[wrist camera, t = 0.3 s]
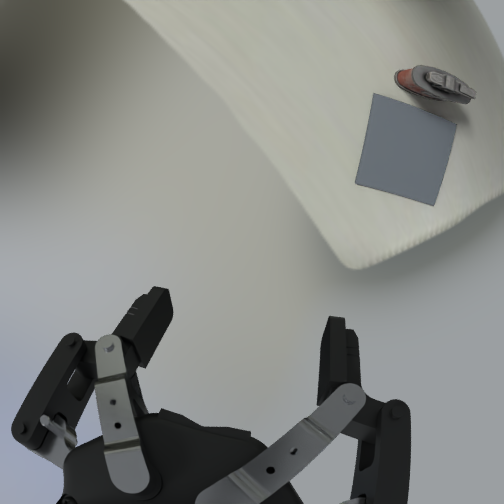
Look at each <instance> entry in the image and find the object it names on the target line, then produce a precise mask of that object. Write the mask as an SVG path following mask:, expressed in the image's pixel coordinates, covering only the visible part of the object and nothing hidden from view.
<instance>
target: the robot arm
mask: <svg viewBox="0 0 504 504" xmlns="http://www.w3.org/2000/svg"><path fill="white" fill-rule="evenodd" d="M172 318H173V307H172V302H171V297H170V293H169V290H168V289H165V288H161V287H156V286H154V287H152V289H151V290H150V292H149V293H148V294H143V295H142V296H140V297H139V298H138V299H136V300H135V302H134V303H133V304H132V306H131V308H130V309H129V310H128V312H127V314H125V316H124V317H123V319H122V320H121V322H120V323H119V324H118V326H117V327H116V329H115V330H114V332H113V333H112V334H109V335H105V336H103V337H101V338H100V339H99V340H98V341H85V340H83V339H82V337H81V336H80V335H79V334H77V333H69V334H67V335H66V336H64V337H63V338H62V340H61V341H60V343H59V344H58V346H57V347H56V349H55V350H54V352H53V353H52V355H51V357H50V358H49V360H48V361H47V363H46V364H45V366H44V367H43V369H42V371H41V372H40V374H39V376H38V377H37V379H36V381H35V382H34V384H33V386H32V388H31V389H30V391H29V393H28V395H27V396H26V398H25V400H24V402H23V404H22V405H21V408H20V409H19V411H18V413H17V415H16V417H15V419H14V421H13V423H12V427H11V431H12V435H13V437H14V438H15V440H17V441H18V442H19V443H21V444H22V445H24V446H25V447H26V448H27V449H29V450H30V451H32V452H34V453H35V454H37V455H39V456H40V457H43V458H45V459H47V460H49V461H51V462H52V463H53V464H55V465H57V466H58V467H60V468H61V469H63V473H64V489H63V494H62V496H61V498H60V499H59V501H58V502H57V503H56V504H303V502H302V500H301V499H300V497H299V496H298V494H297V492H296V491H295V489H294V488H293V486H292V485H291V483H290V480H291V479H292V478H293V477H295V476H296V475H297V474H298V473H299V472H300V471H302V470H303V469H304V468H305V467H306V466H307V465H308V464H309V463H310V462H311V461H312V460H314V459H315V458H316V457H317V456H318V454H320V453H321V452H322V451H323V450H324V449H325V448H326V447H327V446H328V445H329V444H330V443H331V442H332V441H333V440H334V439H335V438H336V437H337V436H338V435H339V433H342V434H345V435H348V436H350V437H353V438H356V439H358V448H357V457H356V465H355V472H354V479H353V485H352V492H351V497H350V500H348V501H345V502H342V503H340V504H407V501H408V492H409V480H410V462H411V460H410V459H411V418H410V417H411V416H410V409H409V407H408V406H407V404H406V403H404V402H403V401H401V400H397V399H395V400H390V401H388V402H387V403H384V402H381V401H377V400H375V399H373V398H370V397H369V396H368V395H366V393H365V392H364V390H363V389H362V386H361V376H360V375H361V374H360V357H359V343H358V337H357V335H356V334H355V332H354V330H351V329H346V327H345V318H342V317H334V316H329V318H328V321H327V324H326V327H325V330H324V333H323V337H322V341H321V348H320V367H319V382H318V395H317V406H319V407H318V408H317V409H316V410H315V411H314V412H313V413H312V414H311V415H310V416H308V417H307V418H304V419H303V420H301V421H300V422H299V423H297V424H296V425H295V426H294V427H293V428H292V429H291V430H289V431H288V432H287V433H286V434H285V435H283V436H282V437H281V438H280V439H279V440H277V441H276V442H275V443H274V444H272V445H271V446H270V447H269V448H268V447H267V446H265V445H264V444H263V443H262V442H260V441H259V440H257V439H255V438H253V437H251V432H250V431H245V430H240V429H235V428H230V427H204V426H201V425H199V424H197V423H195V422H193V421H192V420H190V419H188V418H186V417H185V416H183V415H180V414H177V413H174V412H171V411H168V410H165V409H162V408H161V410H160V412H159V413H150V414H149V413H148V410H147V408H146V406H145V403H144V400H143V397H142V393H141V389H140V385H139V381H138V377H137V373H136V369H137V368H138V366H140V367H143V368H146V367H147V365H148V363H149V361H150V359H151V357H152V356H153V354H154V352H155V350H156V348H157V346H158V344H159V342H160V341H161V339H162V337H163V335H164V333H165V332H166V330H167V328H168V326H169V324H170V322H171V321H172ZM74 370H75V372H74ZM73 372H74V374H73ZM72 374H73V375H72ZM71 375H72V377H71ZM70 377H71V379H70ZM69 379H70V381H69ZM68 381H69V382H68ZM67 383H68V384H67ZM94 389H95V393H96V399H97V406H98V412H99V418H100V423H101V429H102V434H103V435H101V436H99V437H97V438H95V439H93V440H91V441H89V442H87V443H84V444H82V445H80V446H78V447H76V448H75V446H76V445H77V435H76V432H75V428H76V426H77V424H78V421H79V419H80V417H81V415H82V413H83V411H84V409H85V407H86V405H87V403H88V401H89V398H90V396H91V395H92V393H93V391H94Z"/></svg>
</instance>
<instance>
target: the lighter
mask: <svg viewBox="0 0 504 504" xmlns="http://www.w3.org/2000/svg"><path fill="white" fill-rule="evenodd" d="M394 80H395V83H396V84H397V85H398V86H399V87H401V88H403V89H405V90H406V91H408V92H411V93H413V94H416V95H418V96H421V97H425V98H428V99H433V100H440V101H444V100H445V101H447V100H449V101H452V102H457V103H462V104H468V103H469V102H470V100H471V99H475V98H476V91H475V90H474V89H472V88H470V87H469V86H468V85H467V84H466V83H464V82H463V81H461V80H460V79H459V78H457V77H455V76H453V75H451V74H450V73H448V72H446V71H443V70H440V69H437V68H434V67H428V66H423V65H419V66H415V67H414V68H413V69H408V70H404V69H402V70H398V71H397V72H396V73H395V76H394Z"/></svg>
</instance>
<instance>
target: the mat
mask: <svg viewBox="0 0 504 504" xmlns="http://www.w3.org/2000/svg"><path fill="white" fill-rule="evenodd" d="M456 125H457V124H455V123H453V122H450V121H448V120H446V119H444V118H442V117H439V116H437V115H434V114H432V113H430V112H427V111H425V110H422V109H420V108H417V107H414V106H412V105H409V104H406V103H403V102H400V101H397V100H394V99H391V98H388V97H385V96H382V95H379V94H375V93H373V99H372V105H371V110H370V116H369V121H368V126H367V131H366V136H365V141H364V145H363V150H362V154H361V159H360V163H359V167H358V172H357V176H356V180H355V184H359V185H363V186H367V187H371V188H375V189H379V190H382V191H386V192H389V193H393V194H397V195H400V196H403V197H407V198H410V199H414V200H417V201H420V202H423V203H426V204H429V205H433V206H434V204H435V201H436V198H437V195H438V192H439V189H440V186H441V183H442V180H443V176H444V173H445V169H446V166H447V162H448V159H449V155H450V151H451V147H452V143H453V139H454V135H455V130H456Z"/></svg>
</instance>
